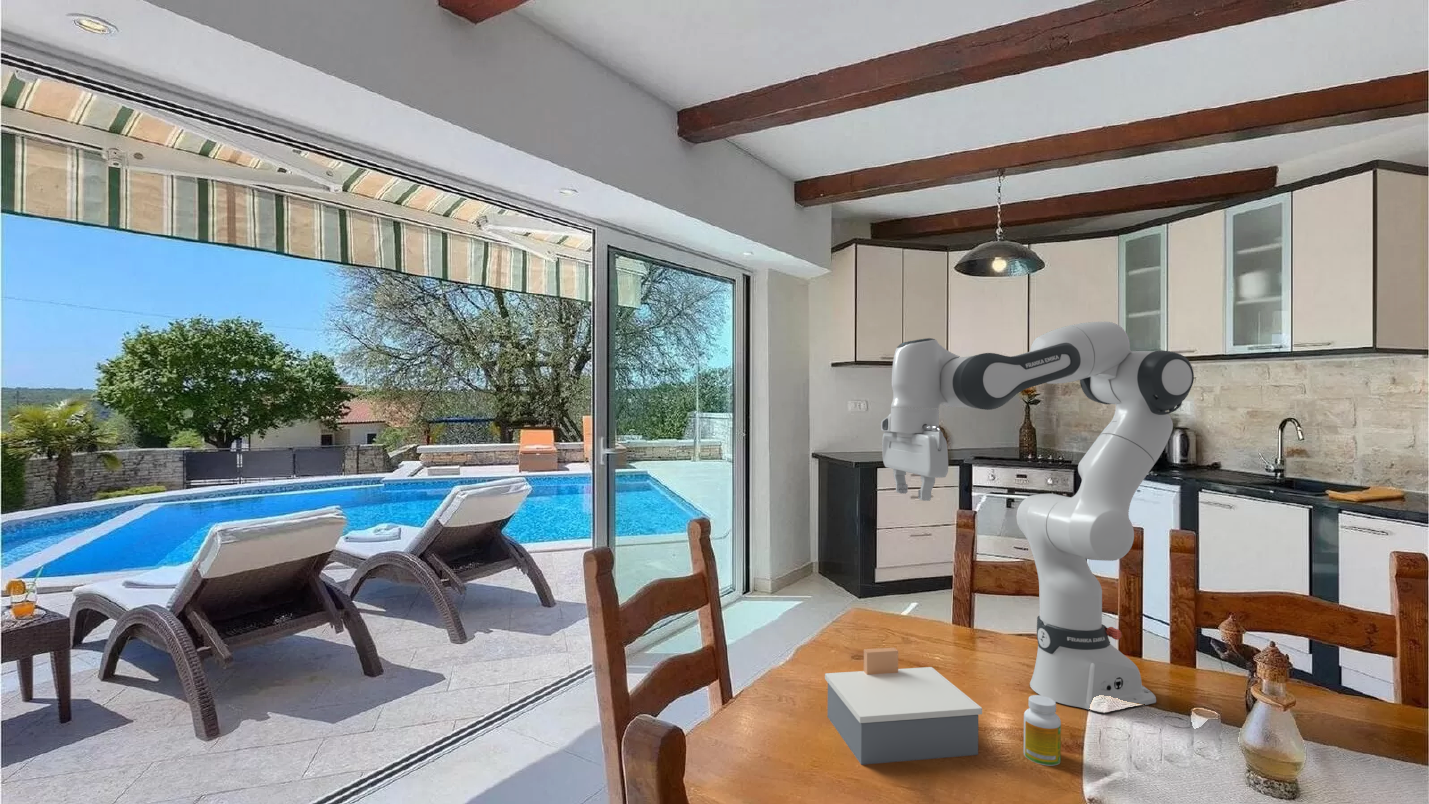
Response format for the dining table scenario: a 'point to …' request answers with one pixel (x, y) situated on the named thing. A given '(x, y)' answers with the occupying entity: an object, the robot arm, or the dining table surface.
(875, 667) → the lid
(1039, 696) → the supplement bottle
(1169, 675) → the dining table surface
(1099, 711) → the dining table surface
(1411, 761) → the dining table surface
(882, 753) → the tub
